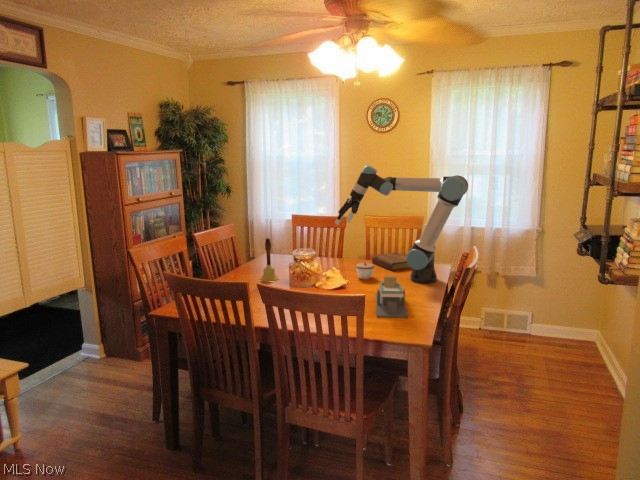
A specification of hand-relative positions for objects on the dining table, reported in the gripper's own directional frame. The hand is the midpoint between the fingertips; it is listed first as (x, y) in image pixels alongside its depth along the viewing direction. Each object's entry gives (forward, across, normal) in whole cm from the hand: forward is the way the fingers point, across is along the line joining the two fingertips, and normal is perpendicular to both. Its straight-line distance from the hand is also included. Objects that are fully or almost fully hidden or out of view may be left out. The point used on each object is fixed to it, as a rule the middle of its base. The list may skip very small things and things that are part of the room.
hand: (342, 222), depth 268 cm
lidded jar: (+23, -8, +26) cm, 36 cm away
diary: (+20, -43, +30) cm, 56 cm away
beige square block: (+5, +24, +48) cm, 54 cm away
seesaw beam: (+3, +32, +52) cm, 61 cm away
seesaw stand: (+9, +31, +55) cm, 64 cm away
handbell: (+49, +21, -16) cm, 55 cm away
